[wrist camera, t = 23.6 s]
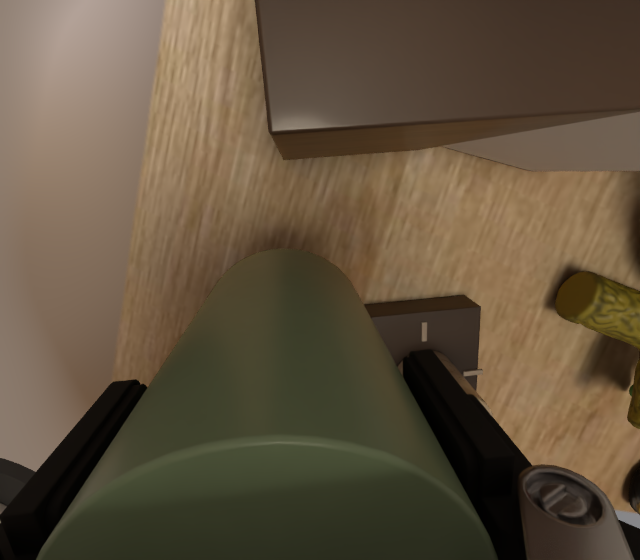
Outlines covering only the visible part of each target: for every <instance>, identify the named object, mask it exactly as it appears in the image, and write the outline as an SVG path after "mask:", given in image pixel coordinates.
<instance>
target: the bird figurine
mask: <svg viewBox="0 0 640 560" xmlns="http://www.w3.org/2000/svg"><path fill="white" fill-rule="evenodd" d="M555 308H556V311H557V313H558V315H559V316H561V317H562V318H564V319H566V320H568V321H571V322H574V323H577V324H579V323H580V324H582V325H584V326H585V327H587V328H589V329H592V330H595V331H597V332H600V333H602V334H605V335H607V336H610V337H613V338H615V339H618V340H621V341H624V342H626V343H629V344H631V345H633V346H634V347H636V348H638V350H639V354H640V291H638V290H635V289H632V288H630V287H627V286H625V285H623V284H620V283H617V282H615V281H612V280H609V279H607V278H605V277H603V276H601V275H597V274H595V273H593V272H589V271H582V272H579V273H576V274H574V275H573V276H571V277H570V278H569V279H567V280H566V281H565V282H564V283H563V285H562V286H561V287H560V289H559V291H558V293H557V298H556V301H555ZM629 393H630V395H631V396H632V398H631V402H630V406H629V411H628V416H627V419H628V421H629V422H630V423H631V424H632V425H633V426H634V427H636V428H638V429H640V355H639V360H638V363H637V366H636V369H635V376H634V384H633V385H632V386H631V387H630V389H629Z"/></svg>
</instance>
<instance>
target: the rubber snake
mask: <svg viewBox="0 0 640 560" xmlns="http://www.w3.org/2000/svg"><path fill="white" fill-rule="evenodd" d="M629 502H630V505H631V507H632V508H633V509H634V510H635V511H636V512H637V513H638V514H639V515H640V469H637V471H636V472H635V474H634V476H633V478H632V480H631V484H630V488H629Z"/></svg>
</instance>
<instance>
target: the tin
mask: <svg viewBox="0 0 640 560" xmlns="http://www.w3.org/2000/svg"><path fill="white" fill-rule="evenodd" d="M36 560H498V557H497V554H496V552H495V549H494V546H493V544H492V541H491V539H490V536H489V534H488V532H487V530H486V529H485V527H484V525H483V523H482V521H481V519H480V517H479V516H478V514H477V512H476V510H475V508H474V506H473V505H472V503H471V501H470V499H469V497H468V495H467V494H466V492H465V490H464V488H463V486H462V484H461V483H460V481H459V479H458V477H457V475H456V473H455V472H454V470H453V468H452V466H451V464H450V462H449V461H448V459H447V457H446V455H445V453H444V451H443V450H442V448H441V446H440V444H439V442H438V440H437V439H436V437H435V435H434V433H433V431H432V429H431V427H430V426H429V424H428V422H427V420H426V418H425V416H424V415H423V413H422V411H421V409H420V407H419V405H418V404H417V402H416V400H415V398H414V396H413V394H412V393H411V391H410V389H409V387H408V385H407V383H406V382H405V380H404V378H403V376H402V374H401V372H400V371H399V369H398V367H397V365H396V363H395V361H394V360H393V358H392V356H391V354H390V352H389V350H388V349H387V347H386V345H385V343H384V341H383V339H382V338H381V336H380V334H379V332H378V330H377V328H376V326H375V325H374V323H373V321H372V319H371V317H370V315H369V314H368V312H367V310H366V308H365V306H364V304H363V303H362V301H361V299H360V297H359V295H358V293H357V292H356V290H355V288H354V286H353V285H352V283H351V282H350V280H349V279H348V278H347V277H346V275H345V274H344V273H343V272H342V271H341V270H340V269H339V268H338V267H336V266H335V265H334V264H332V263H331V262H330V261H328V260H326V259H324V258H322V257H320V256H318V255H316V254H313V253H310V252H307V251H303V250H298V249H289V248H284V249H271V250H265V251H262V252H258V253H255V254H253V255H251V256H248V257H246V258H244V259H243V260H241V261H239V262H238V263H236V264H235V265H233V266H232V267H231V268H230V269H229V270H227V272H226V273H225V274H224V275H223V276H222V277H221V278H220V279H219V281H218V282H217V284H216V285H215V286H214V288H213V289H212V291H211V293H210V294H209V296H208V297H207V299H206V300H205V302H204V303H203V305H202V306H201V308H200V309H199V311H198V312H197V314H196V315H195V317H194V318H193V320H192V321H191V323H190V324H189V326H188V327H187V329H186V330H185V332H184V333H183V335H182V336H181V338H180V339H179V341H178V342H177V344H176V345H175V347H174V348H173V350H172V352H171V353H170V355H169V356H168V358H167V359H166V361H165V362H164V364H163V365H162V367H161V368H160V370H159V371H158V373H157V374H156V376H155V377H154V379H153V380H152V382H151V383H150V385H149V386H148V388H147V389H146V391H145V392H144V394H143V395H142V397H141V398H140V400H139V401H138V403H137V404H136V406H135V407H134V409H133V411H132V412H131V414H130V415H129V417H128V418H127V420H126V421H125V423H124V424H123V426H122V427H121V429H120V430H119V432H118V433H117V435H116V436H115V438H114V439H113V441H112V442H111V444H110V445H109V447H108V448H107V450H106V451H105V453H104V454H103V456H102V457H101V459H100V460H99V462H98V463H97V465H96V467H95V468H94V470H93V471H92V473H91V474H90V476H89V477H88V479H87V480H86V482H85V483H84V485H83V486H82V488H81V489H80V491H79V492H78V494H77V495H76V497H75V498H74V500H73V501H72V503H71V504H70V506H69V507H68V509H67V510H66V512H65V513H64V515H63V516H62V518H61V519H60V521H59V522H58V524H57V526H56V527H55V529H54V530H53V532H52V533H51V535H50V536H49V538H48V539H47V541H46V542H45V544H44V545H43V547H42V548H41V550H40V552H39V555H38V557H37V559H36Z"/></svg>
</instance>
